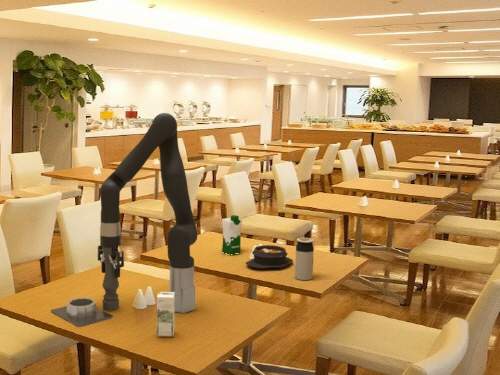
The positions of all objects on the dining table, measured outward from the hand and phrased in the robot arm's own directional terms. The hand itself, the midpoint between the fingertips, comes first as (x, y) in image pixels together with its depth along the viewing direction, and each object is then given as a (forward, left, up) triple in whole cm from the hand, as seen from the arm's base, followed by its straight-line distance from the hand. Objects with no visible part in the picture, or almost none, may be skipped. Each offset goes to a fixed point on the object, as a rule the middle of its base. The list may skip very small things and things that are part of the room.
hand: (110, 275), depth 241 cm
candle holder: (0, 0, -13) cm, 13 cm away
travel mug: (-23, -87, -13) cm, 91 cm away
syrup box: (-34, 0, -13) cm, 37 cm away
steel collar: (+1, +12, -13) cm, 18 cm away
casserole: (+1, -90, -14) cm, 91 cm away
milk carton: (+29, -91, -13) cm, 96 cm away
